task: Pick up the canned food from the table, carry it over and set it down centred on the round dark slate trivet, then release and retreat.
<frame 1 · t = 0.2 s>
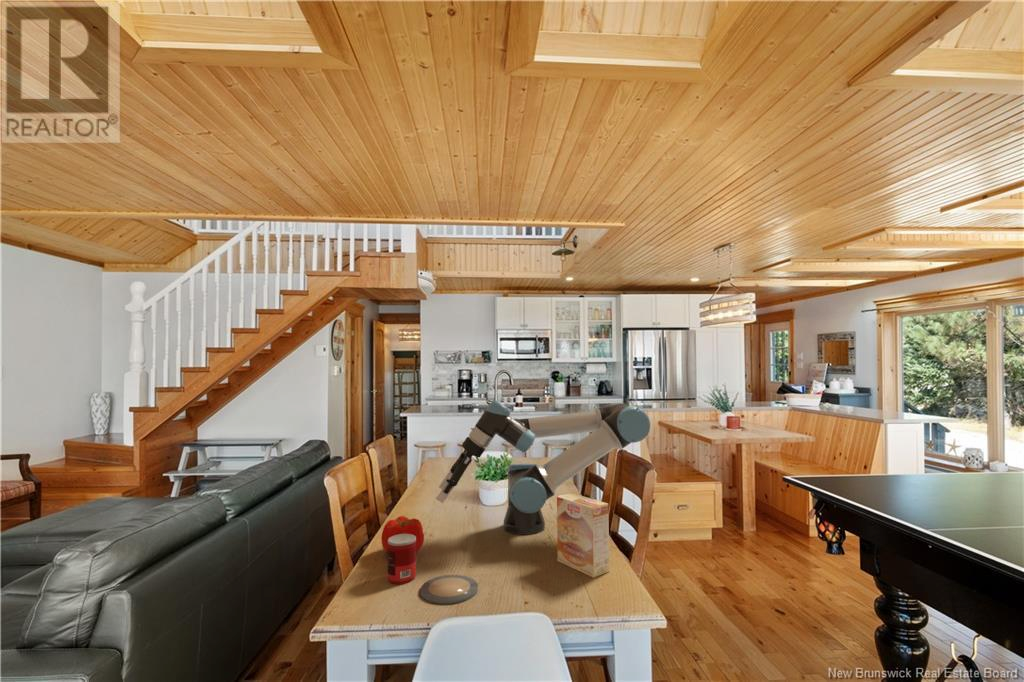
hand: (440, 494, 162), 16 cm above the table, tool tilted 35°, fingers open, 13 cm apart
trivet: (449, 590, 127), on the table
tomato: (402, 554, 153), on the table
coffeecake box: (582, 567, 142), on the table
canned food: (401, 579, 135), on the table
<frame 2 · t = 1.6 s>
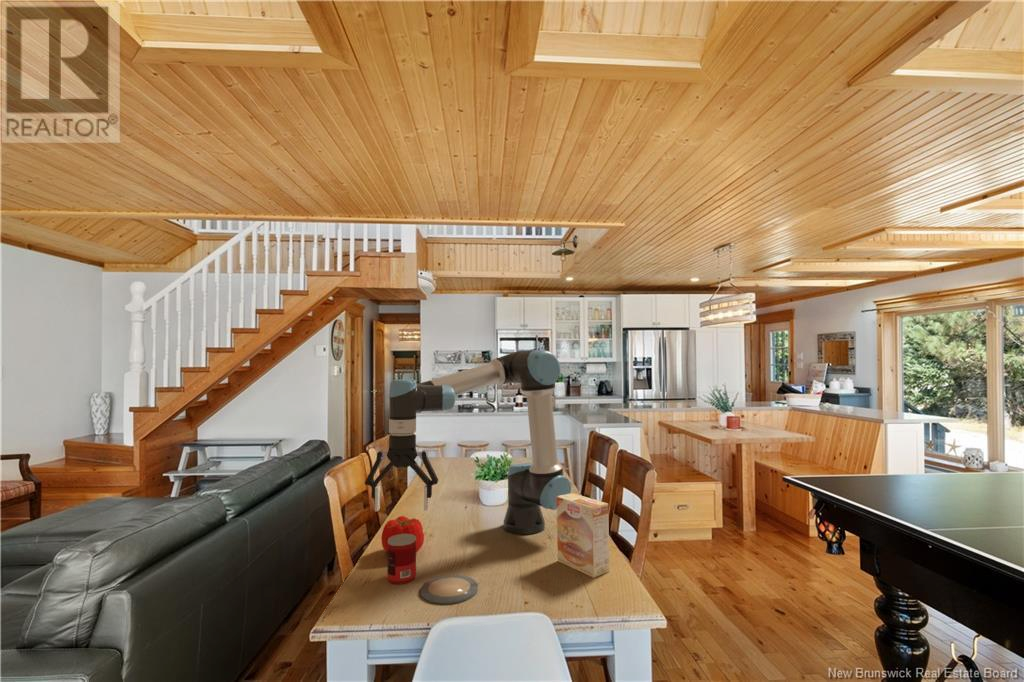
hand: (401, 509, 136), 19 cm above the table, tool pointing down, fingers open, 13 cm apart
nothing on the table moved.
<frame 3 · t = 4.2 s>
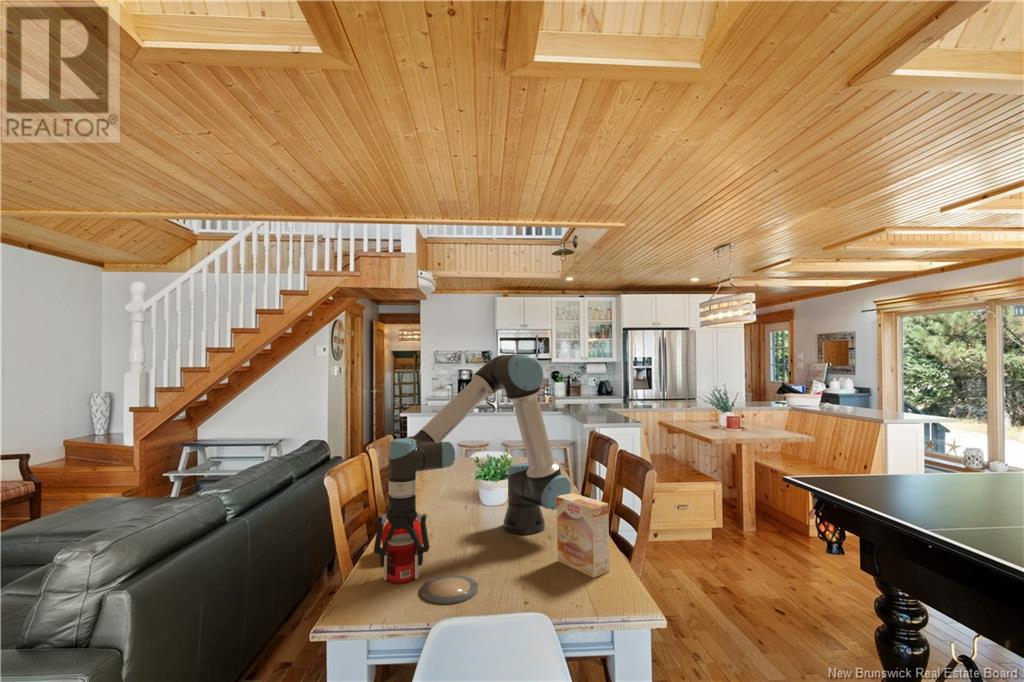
hand: (401, 577, 135), 0 cm above the table, tool pointing down, fingers closed on canned food, 8 cm apart
canned food: (401, 579, 135), on the table, touching gripper
everything else where it was.
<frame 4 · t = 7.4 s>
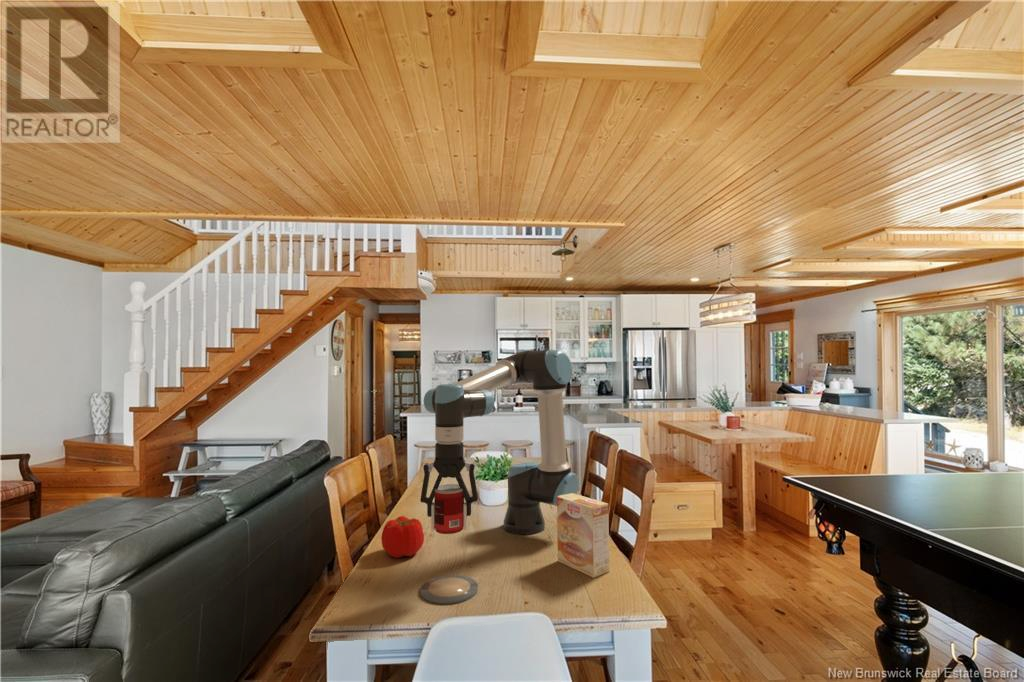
hand: (449, 528, 128), 16 cm above the table, tool pointing down, fingers closed on canned food, 8 cm apart
canned food: (449, 530, 128), point 16 cm above the table, touching gripper
everything else where it was.
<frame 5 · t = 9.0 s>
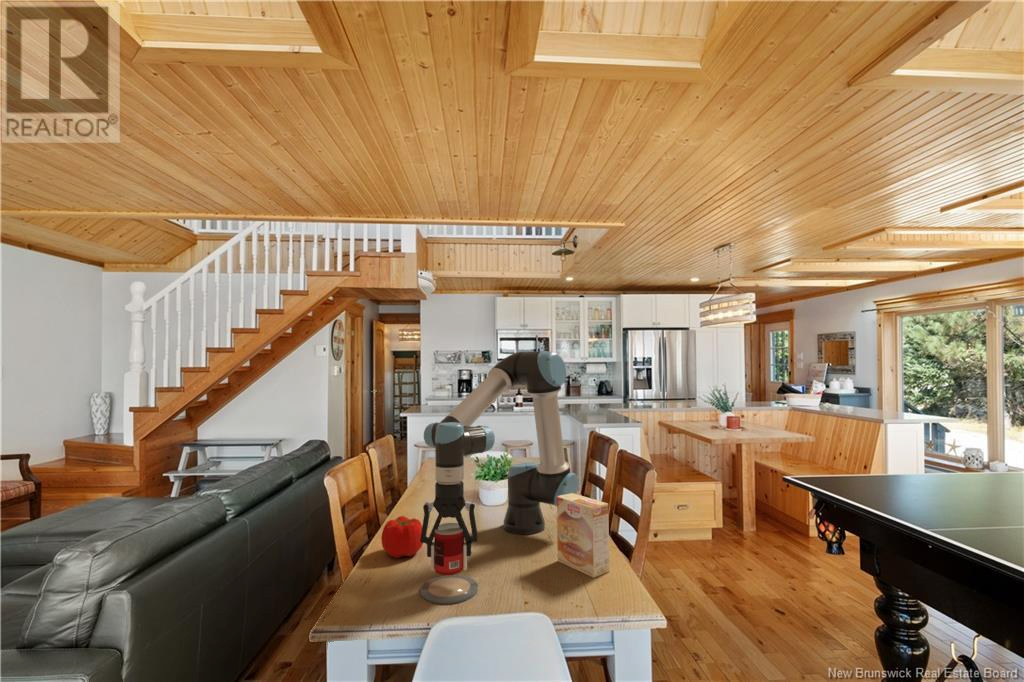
hand: (449, 568, 128), 6 cm above the table, tool pointing down, fingers closed on canned food, 8 cm apart
canned food: (449, 570, 128), point 5 cm above the table, touching gripper
everything else where it was.
when the fingers open (3 cm above the table, at t = 10.5 s): canned food drops 1 cm, resting on trivet.
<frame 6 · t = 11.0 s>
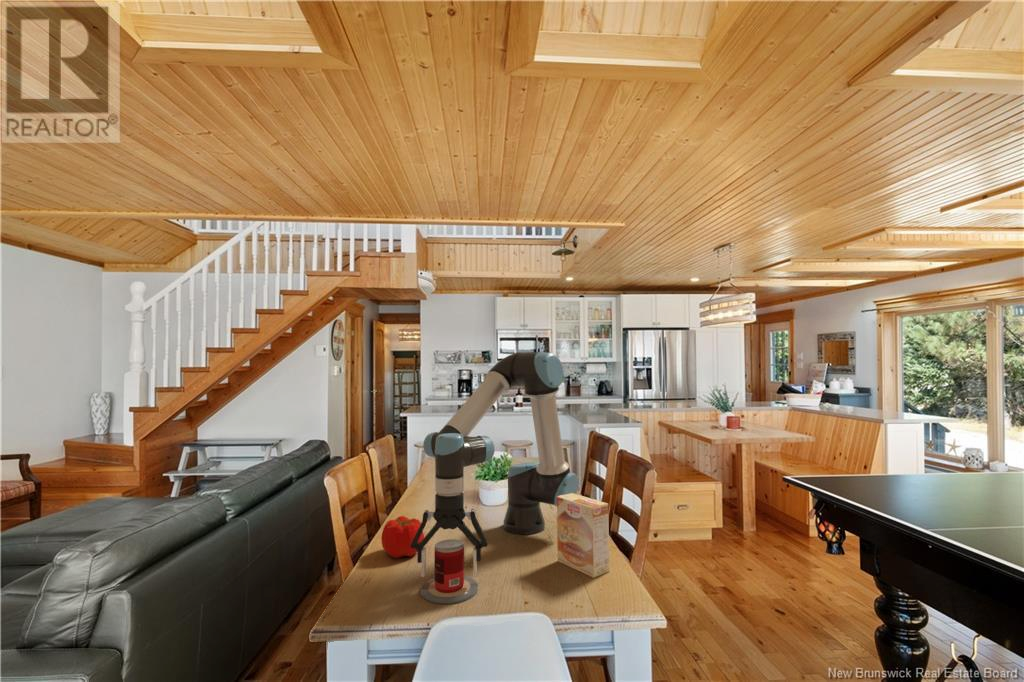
hand: (449, 574, 128), 4 cm above the table, tool pointing down, fingers open, 13 cm apart
canned food: (449, 587, 127), point 1 cm above the table, touching trivet
everything else where it was.
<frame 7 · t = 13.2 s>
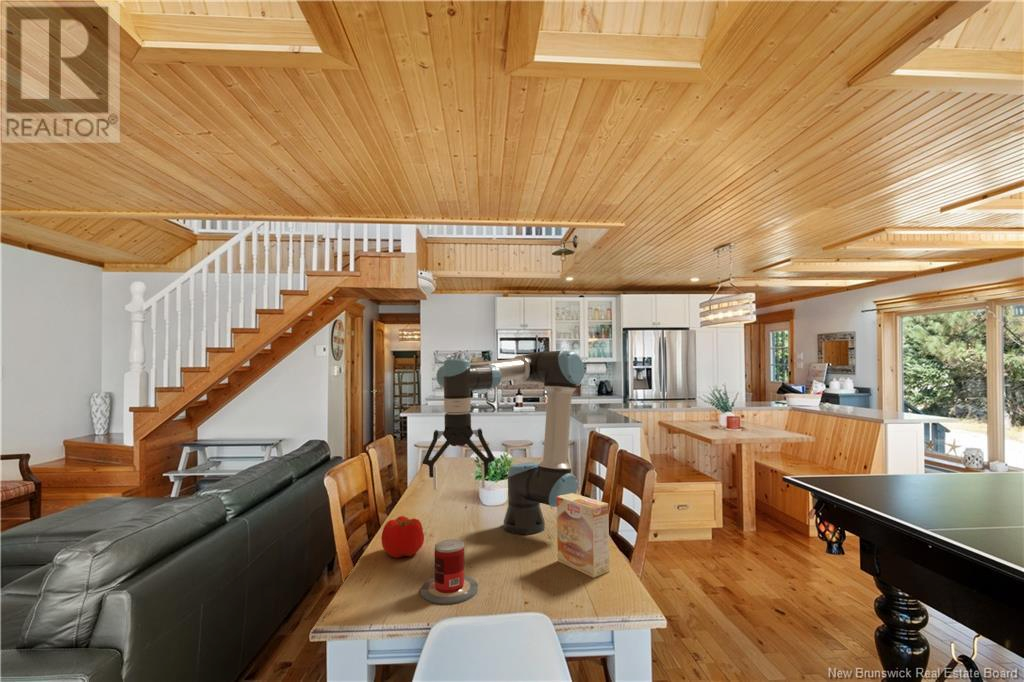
hand: (459, 487, 137), 25 cm above the table, tool pointing down, fingers open, 13 cm apart
nothing on the table moved.
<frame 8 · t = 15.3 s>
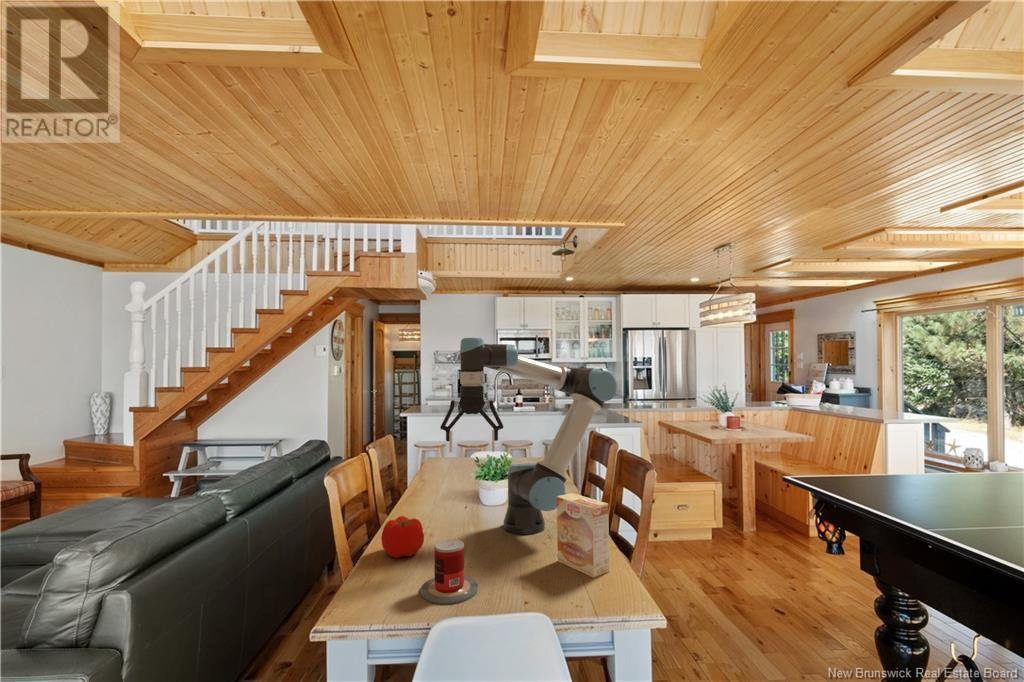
hand: (472, 451, 155), 32 cm above the table, tool pointing down, fingers open, 13 cm apart
nothing on the table moved.
at the end: canned food 0.0 cm from the trivet (horizontally); canned food tilted 0°; canned food touching trivet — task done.
